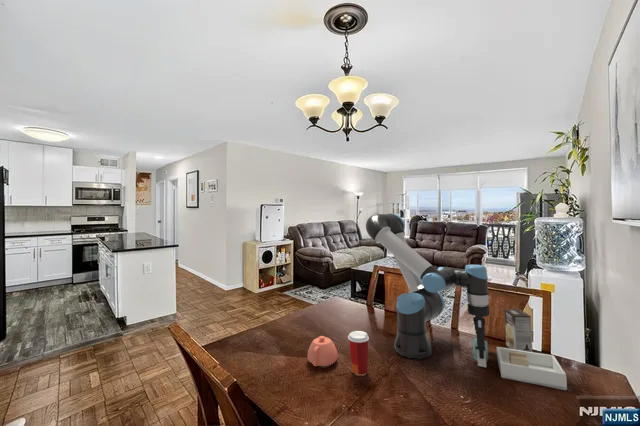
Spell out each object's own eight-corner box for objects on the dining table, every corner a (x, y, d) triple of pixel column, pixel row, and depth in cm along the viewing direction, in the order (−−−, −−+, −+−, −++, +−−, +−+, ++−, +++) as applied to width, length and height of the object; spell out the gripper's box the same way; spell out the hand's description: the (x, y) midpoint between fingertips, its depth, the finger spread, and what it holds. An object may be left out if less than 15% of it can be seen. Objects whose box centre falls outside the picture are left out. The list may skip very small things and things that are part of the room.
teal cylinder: (473, 360, 107) (472, 342, 107) (473, 354, 112) (472, 337, 112) (488, 363, 105) (487, 344, 105) (487, 357, 109) (486, 339, 110)
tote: (501, 377, 95) (500, 363, 95) (497, 359, 107) (496, 346, 107) (567, 390, 87) (566, 374, 87) (554, 369, 99) (553, 355, 99)
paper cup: (371, 368, 104) (370, 331, 104) (368, 379, 97) (366, 339, 97) (351, 365, 107) (350, 329, 107) (347, 376, 99) (345, 337, 100)
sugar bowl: (342, 358, 113) (341, 333, 113) (329, 375, 100) (328, 347, 101) (315, 353, 118) (315, 329, 118) (300, 369, 105) (299, 342, 106)
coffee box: (505, 345, 119) (503, 308, 119) (521, 346, 118) (519, 308, 118) (516, 355, 110) (513, 315, 110) (534, 356, 109) (531, 315, 109)
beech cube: (529, 374, 95) (528, 360, 95) (511, 371, 97) (511, 357, 97) (526, 367, 99) (525, 353, 100) (509, 364, 102) (508, 351, 102)
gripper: (491, 314, 96) (495, 376, 96) (486, 297, 118) (489, 347, 117) (467, 312, 100) (471, 371, 99) (467, 295, 122) (469, 344, 121)
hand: (481, 358), depth 108 cm, fingers open, 12 cm apart
